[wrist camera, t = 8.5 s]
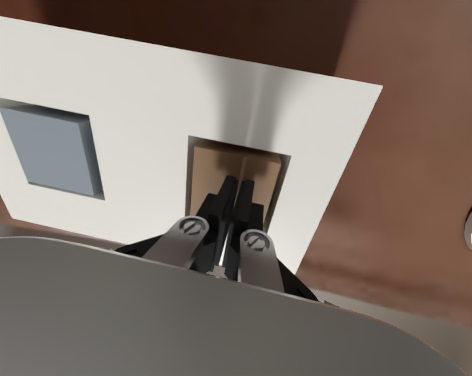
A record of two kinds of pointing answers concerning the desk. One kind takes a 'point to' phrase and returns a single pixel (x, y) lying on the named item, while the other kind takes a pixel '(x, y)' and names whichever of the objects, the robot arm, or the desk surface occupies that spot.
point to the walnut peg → (232, 171)
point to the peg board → (174, 131)
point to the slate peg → (54, 147)
